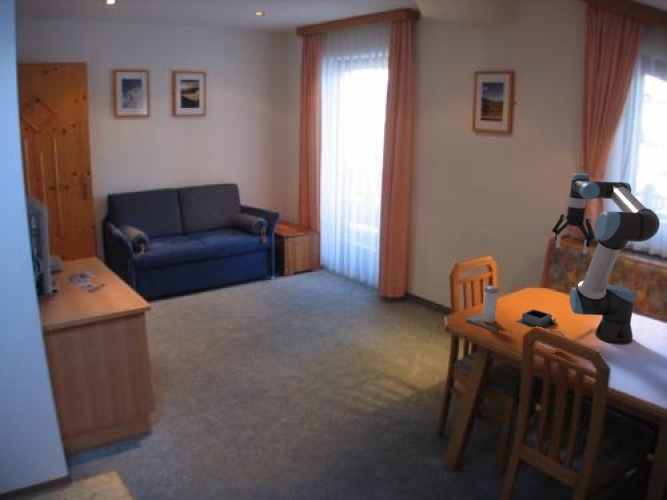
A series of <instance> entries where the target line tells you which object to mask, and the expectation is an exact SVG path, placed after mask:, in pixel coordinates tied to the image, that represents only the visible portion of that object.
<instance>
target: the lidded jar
mask: <svg viewBox="0 0 667 500" xmlns="http://www.w3.org/2000/svg"><path fill="white" fill-rule="evenodd" d="M545 330H548V331H551V332H554V333H556V334H558V335H561V336H564V338H566V337H565V334H564V333H563V332H562V331H561V330H557V329H552V328H547V329H545ZM538 344H539V345H544V344H542V343H538V342H537V345H538ZM539 345H538V346H539ZM544 347H546V348H547V349H551V350H556V349H554V348H552V347H550V346H547V345H544Z"/></svg>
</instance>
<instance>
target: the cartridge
mask: <svg viewBox="0 0 667 500" xmlns="http://www.w3.org/2000/svg"><path fill="white" fill-rule="evenodd" d="M499 291H500V290H499V287H498V286H496V285H495V286H494V285H485V286H484V295H483V303H482V304H483V305H482V311H481V313H482V318H481V322H482V321H483V323H484V322H485V323H495V322H496V316H497V306H498V298H499V297H498V295H499Z"/></svg>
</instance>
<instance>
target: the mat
mask: <svg viewBox="0 0 667 500" xmlns="http://www.w3.org/2000/svg"><path fill="white" fill-rule="evenodd" d="M479 319H482V312H480V313H478V314H475V315H472V316H471V317H467V318H466V319H465V320H466V322H468V323H470V324H473V325H476V326H479V327H482V328H484V329H488V330H491V331H493V332H498V331H500V330H501V328H499V327H496V326H493V325H491V324H488V323H486V322H485V323H484V322H482V321H480V320H479ZM478 320H479V321H478Z"/></svg>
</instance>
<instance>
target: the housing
mask: <svg viewBox="0 0 667 500" xmlns="http://www.w3.org/2000/svg"><path fill="white" fill-rule="evenodd" d="M514 322H515V323H517V324H521V325H524V326H527V327H530V328H533V327H536V326H538V327H542V328H544V329H550V328H552V327H553V326H556V325H557V324H558V322H557V318H554V317H553V314H551V313H547V312H544V311H540V310H537V309H530V310H528V311H525V312H523V313H522V316H521V318H519V319H517V320H516V321H514Z"/></svg>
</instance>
